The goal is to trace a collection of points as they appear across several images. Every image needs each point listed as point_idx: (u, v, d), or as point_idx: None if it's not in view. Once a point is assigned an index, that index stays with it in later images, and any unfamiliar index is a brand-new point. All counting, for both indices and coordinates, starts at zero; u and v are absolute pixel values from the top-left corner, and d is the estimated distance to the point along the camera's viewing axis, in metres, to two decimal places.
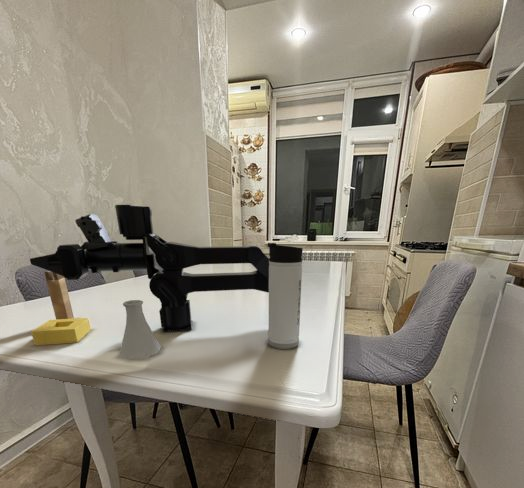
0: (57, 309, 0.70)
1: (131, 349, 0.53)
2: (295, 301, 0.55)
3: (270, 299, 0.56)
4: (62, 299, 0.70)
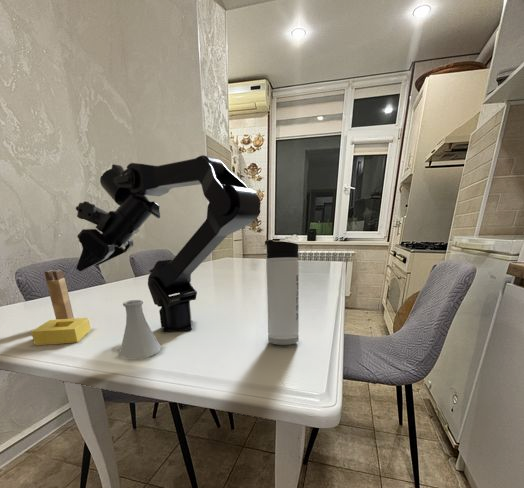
0: (57, 309, 0.70)
1: (131, 349, 0.53)
2: (294, 295, 0.56)
3: (269, 295, 0.57)
4: (62, 299, 0.70)
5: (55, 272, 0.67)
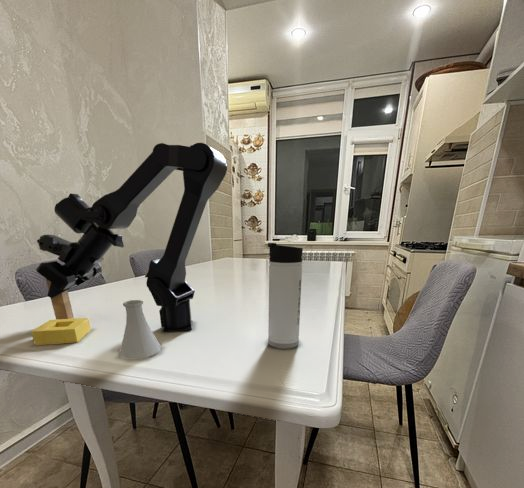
0: (57, 309, 0.70)
1: (131, 349, 0.53)
2: (296, 301, 0.55)
3: (270, 299, 0.56)
4: (62, 299, 0.70)
5: None
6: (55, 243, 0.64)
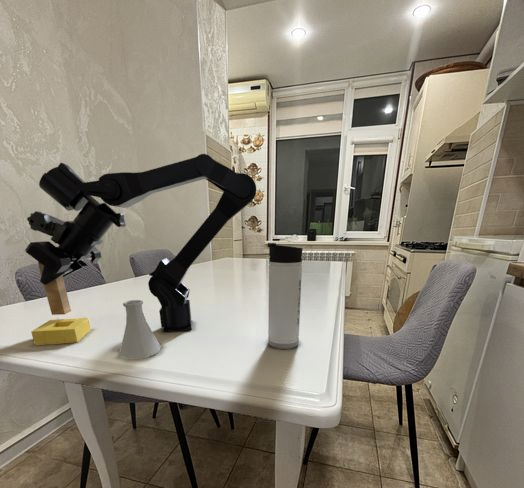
0: (51, 297, 0.63)
1: (131, 349, 0.53)
2: (295, 301, 0.55)
3: (270, 299, 0.56)
4: (57, 286, 0.63)
5: None
6: (47, 221, 0.56)
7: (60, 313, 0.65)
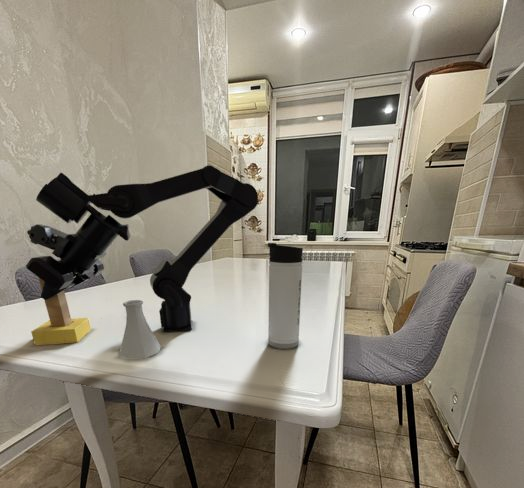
0: (52, 313, 0.60)
1: (131, 349, 0.53)
2: (296, 301, 0.55)
3: (270, 299, 0.56)
4: (58, 301, 0.60)
5: None
6: (49, 235, 0.53)
7: None
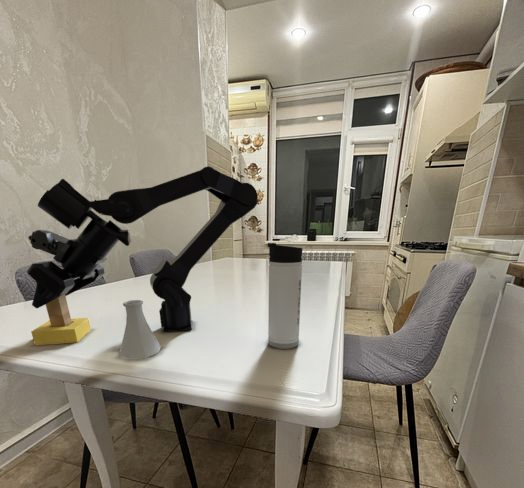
0: (54, 322, 0.61)
1: (131, 349, 0.53)
2: (295, 301, 0.55)
3: (270, 299, 0.56)
4: (60, 311, 0.60)
5: None
6: (50, 240, 0.54)
7: None
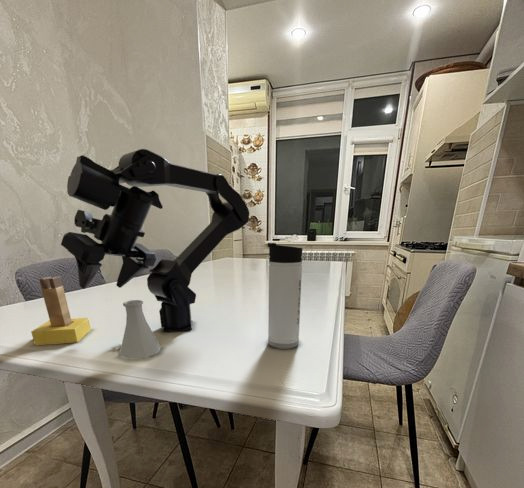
0: (54, 322, 0.61)
1: (131, 349, 0.53)
2: (295, 301, 0.55)
3: (270, 299, 0.56)
4: (60, 311, 0.60)
5: (52, 279, 0.58)
6: (89, 218, 0.55)
7: None
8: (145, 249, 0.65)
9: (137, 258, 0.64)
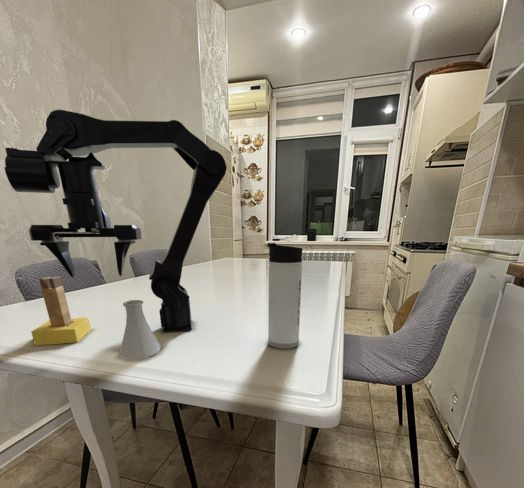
0: (54, 322, 0.61)
1: (131, 349, 0.53)
2: (295, 301, 0.55)
3: (270, 299, 0.56)
4: (61, 311, 0.60)
5: (52, 279, 0.58)
6: None
7: None
8: None
9: None
